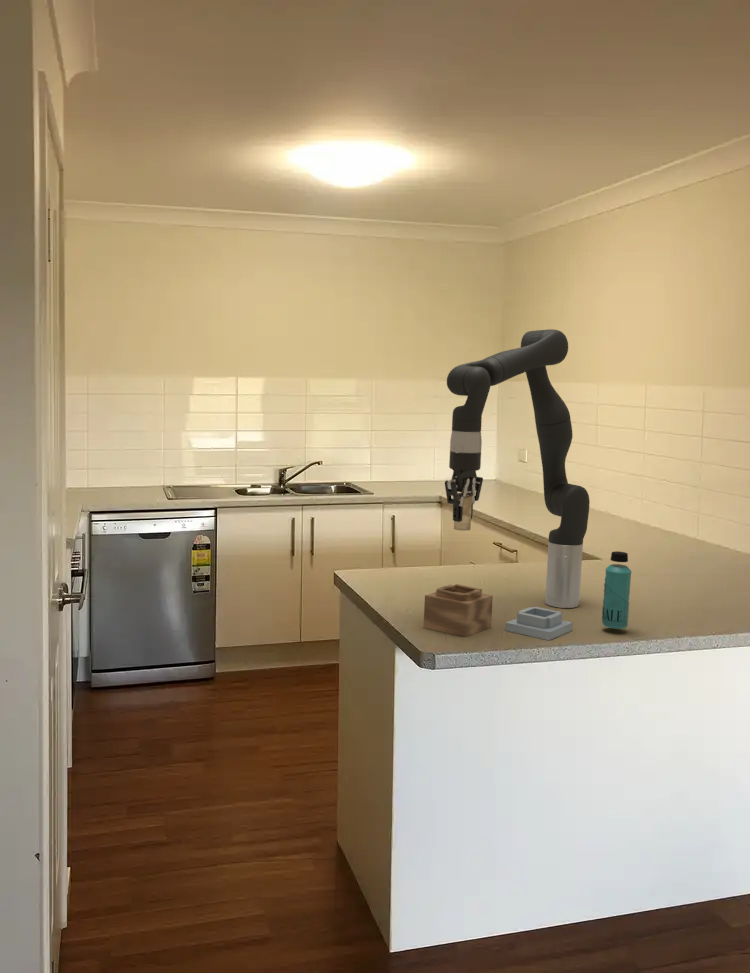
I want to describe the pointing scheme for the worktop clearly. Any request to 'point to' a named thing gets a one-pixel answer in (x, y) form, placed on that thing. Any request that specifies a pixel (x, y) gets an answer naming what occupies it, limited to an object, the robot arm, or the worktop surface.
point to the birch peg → (465, 515)
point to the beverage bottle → (616, 592)
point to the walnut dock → (458, 610)
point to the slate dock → (539, 623)
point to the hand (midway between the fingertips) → (462, 519)
